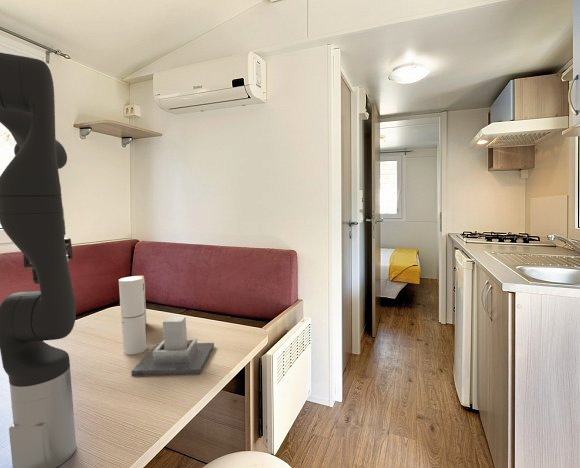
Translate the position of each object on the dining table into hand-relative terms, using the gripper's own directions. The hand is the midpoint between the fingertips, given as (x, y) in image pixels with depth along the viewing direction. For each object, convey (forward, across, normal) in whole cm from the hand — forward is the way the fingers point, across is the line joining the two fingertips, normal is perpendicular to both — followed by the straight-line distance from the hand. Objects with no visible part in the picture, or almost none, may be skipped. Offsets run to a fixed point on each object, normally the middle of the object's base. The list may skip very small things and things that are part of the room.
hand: (51, 279), depth 85 cm
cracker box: (+30, +40, -3) cm, 50 cm away
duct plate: (+30, +14, -27) cm, 43 cm away
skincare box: (+29, +14, -27) cm, 42 cm away
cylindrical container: (+30, +22, -10) cm, 39 cm away
